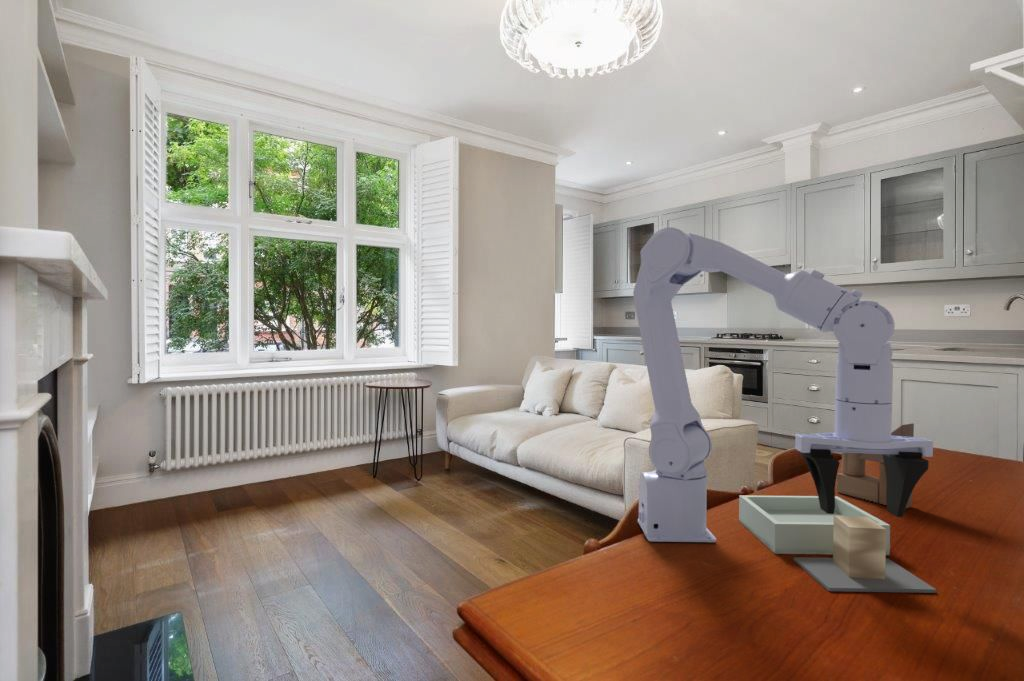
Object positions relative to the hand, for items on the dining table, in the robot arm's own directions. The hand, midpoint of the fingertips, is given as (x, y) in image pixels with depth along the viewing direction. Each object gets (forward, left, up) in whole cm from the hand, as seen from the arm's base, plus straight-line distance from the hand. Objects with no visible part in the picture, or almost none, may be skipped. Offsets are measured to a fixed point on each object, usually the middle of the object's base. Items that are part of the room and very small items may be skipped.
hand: (860, 512), depth 64 cm
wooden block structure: (+20, +29, -8) cm, 36 cm away
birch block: (0, 0, -7) cm, 7 cm away
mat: (0, 0, -8) cm, 8 cm away
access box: (0, +12, -8) cm, 14 cm away
